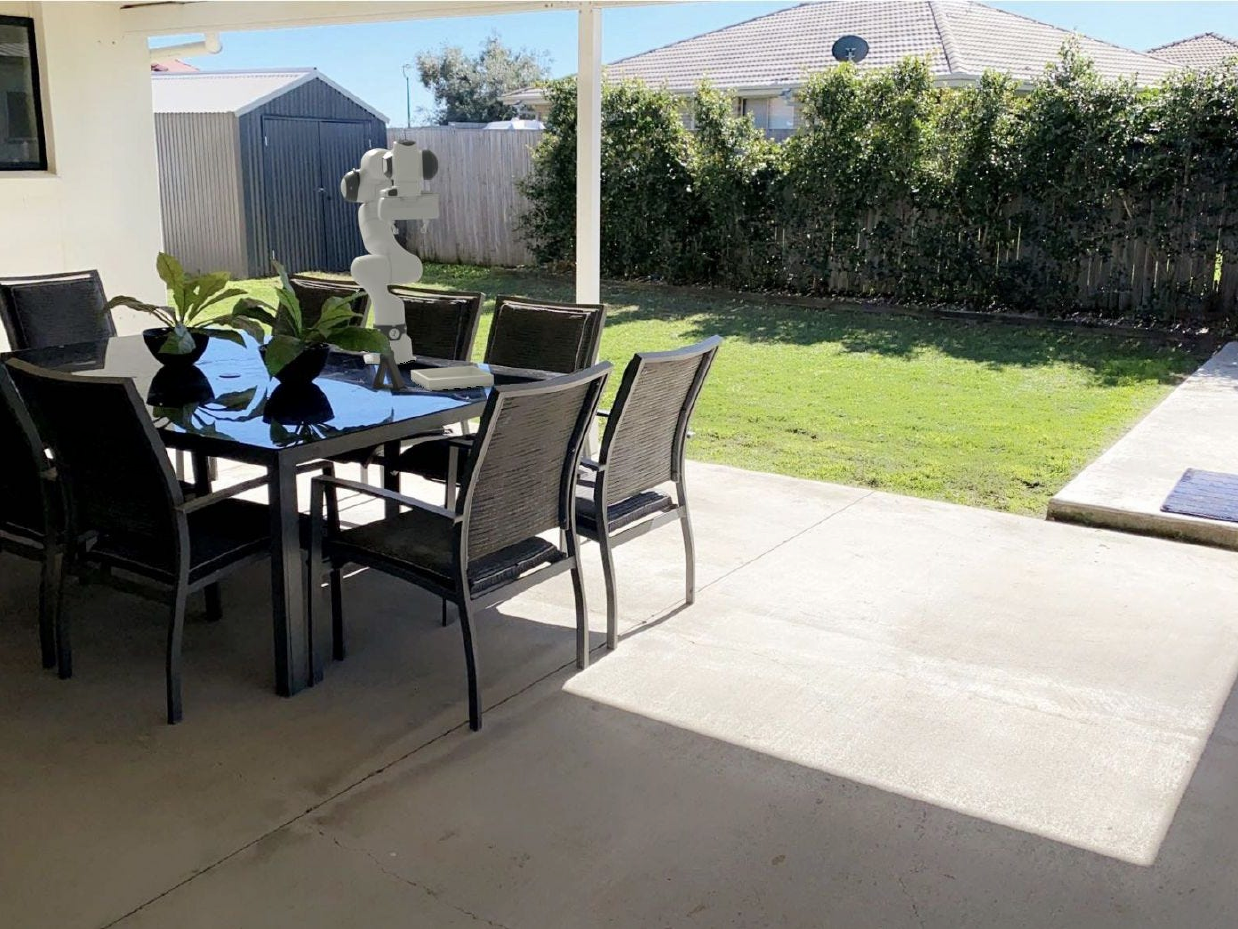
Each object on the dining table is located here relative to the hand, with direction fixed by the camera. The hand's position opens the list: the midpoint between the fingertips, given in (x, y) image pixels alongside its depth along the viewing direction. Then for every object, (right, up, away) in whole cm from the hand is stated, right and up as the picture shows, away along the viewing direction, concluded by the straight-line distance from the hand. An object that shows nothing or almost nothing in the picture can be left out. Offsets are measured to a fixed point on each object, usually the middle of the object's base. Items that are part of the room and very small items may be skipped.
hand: (409, 233), depth 385 cm
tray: (+14, -50, 0) cm, 52 cm away
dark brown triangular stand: (-6, -52, -8) cm, 53 cm away
